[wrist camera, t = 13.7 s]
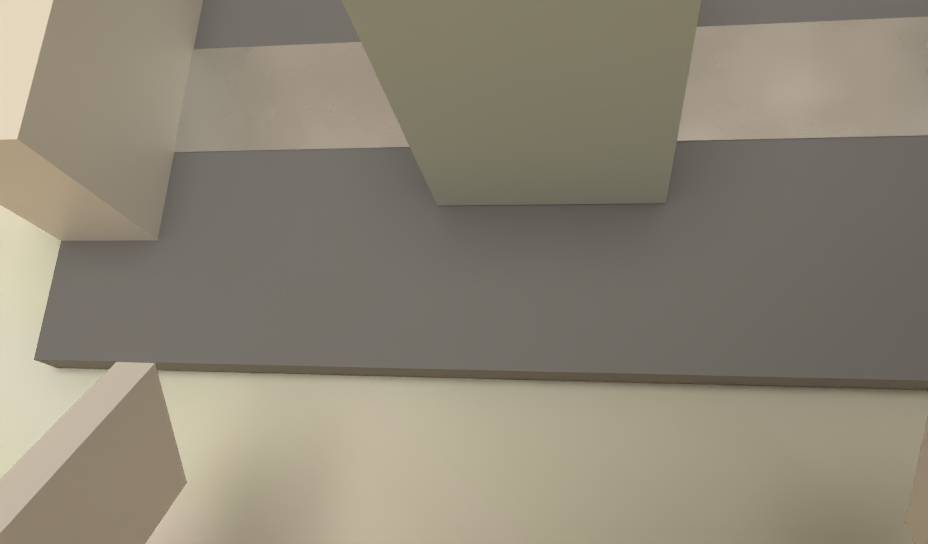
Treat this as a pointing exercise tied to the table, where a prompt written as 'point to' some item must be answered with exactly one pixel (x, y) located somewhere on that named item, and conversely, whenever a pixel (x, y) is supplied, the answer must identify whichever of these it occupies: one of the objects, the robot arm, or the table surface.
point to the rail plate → (466, 206)
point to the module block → (534, 94)
